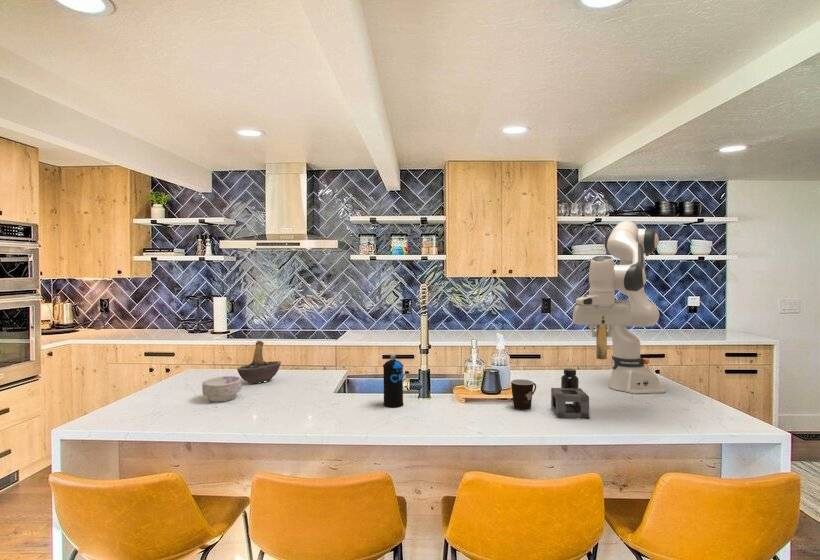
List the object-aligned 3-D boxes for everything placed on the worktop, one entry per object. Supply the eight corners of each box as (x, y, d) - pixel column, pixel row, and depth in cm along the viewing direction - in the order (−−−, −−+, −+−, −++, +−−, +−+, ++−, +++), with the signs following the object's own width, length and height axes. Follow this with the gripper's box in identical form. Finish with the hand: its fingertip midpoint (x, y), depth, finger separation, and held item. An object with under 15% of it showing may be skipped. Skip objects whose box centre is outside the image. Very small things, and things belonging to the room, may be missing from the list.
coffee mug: (516, 411, 168) (516, 385, 168) (507, 404, 177) (507, 379, 177) (544, 410, 170) (544, 384, 170) (535, 403, 179) (535, 378, 179)
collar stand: (580, 409, 171) (580, 388, 171) (589, 418, 160) (589, 396, 160) (551, 408, 172) (551, 387, 172) (557, 417, 161) (557, 395, 161)
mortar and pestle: (282, 379, 221) (282, 338, 220) (264, 387, 204) (263, 344, 204) (255, 377, 224) (255, 337, 223) (235, 386, 208) (234, 343, 207)
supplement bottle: (579, 401, 181) (579, 371, 181) (562, 400, 183) (562, 371, 183) (576, 396, 188) (577, 368, 188) (560, 395, 190) (560, 367, 189)
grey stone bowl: (194, 402, 182) (193, 383, 182) (219, 392, 197) (219, 374, 197) (225, 405, 178) (225, 385, 178) (249, 395, 193) (248, 376, 193)
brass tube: (605, 357, 168) (605, 315, 167) (608, 359, 164) (608, 316, 164) (594, 357, 168) (595, 315, 168) (597, 359, 165) (598, 316, 164)
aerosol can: (378, 404, 178) (378, 355, 177) (393, 400, 184) (393, 352, 183) (393, 409, 172) (393, 357, 172) (407, 404, 178) (407, 354, 178)
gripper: (627, 298, 168) (627, 335, 168) (571, 299, 170) (571, 335, 170) (634, 300, 161) (634, 338, 162) (576, 300, 164) (575, 337, 164)
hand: (601, 336), depth 166 cm, fingers closed on brass tube, 4 cm apart
